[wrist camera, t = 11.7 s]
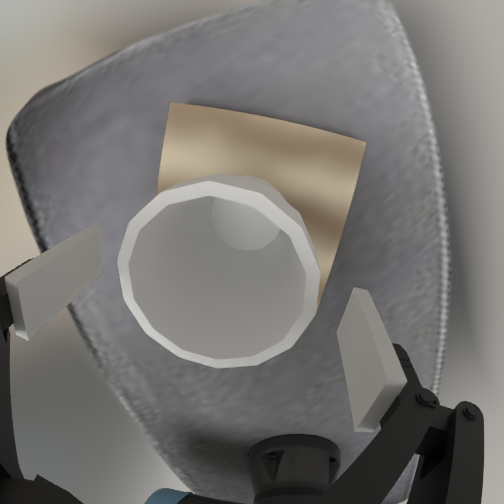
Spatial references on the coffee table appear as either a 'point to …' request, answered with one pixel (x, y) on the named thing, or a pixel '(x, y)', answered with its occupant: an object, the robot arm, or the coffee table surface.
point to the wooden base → (269, 165)
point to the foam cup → (220, 271)
